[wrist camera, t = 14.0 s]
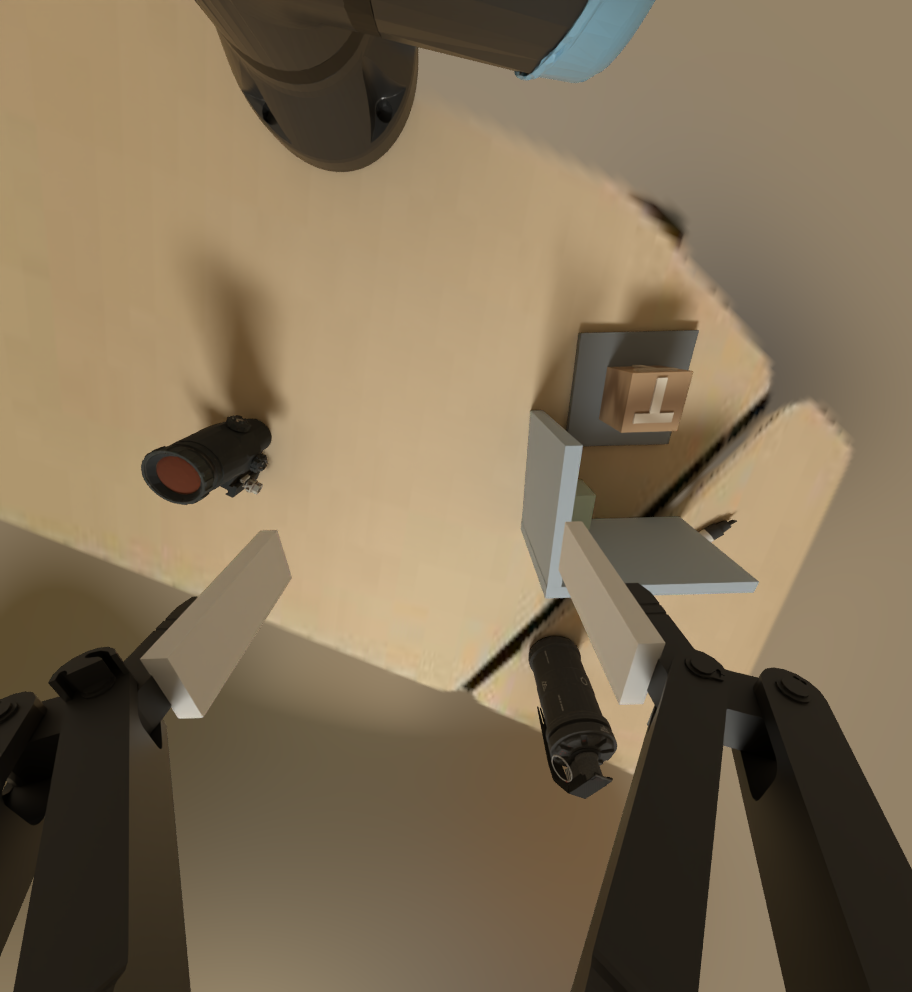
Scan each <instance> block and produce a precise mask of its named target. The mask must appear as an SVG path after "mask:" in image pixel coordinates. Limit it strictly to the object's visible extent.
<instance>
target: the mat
mask: <svg viewBox="0 0 912 992" xmlns="http://www.w3.org/2000/svg"><path fill="white" fill-rule="evenodd" d="M698 332H699V330H686V331H644V332H602V333H579V335H578V343H577V350H576V358H575V366H574V374H573V382H572V390H571V397H570V405H569V413H568V421H567V429H566V431H567V432H568V433H569V434H570V435H571V436H573V437H574V438H575V439H576V440H577V441H578V442H579V443H581V444H582V445H583V446H612V445H651V444H668V443H669V439H670V436H671V432H672V431H659V432H627V433H621V432H619V431H618V430H616V429H614V428H613V427H611V426H609V425H608V424H606V423H604V422H603V421H601V420H599V415H600V409H601V403H602V396H603V390H604V384H605V378H606V372H607V367H626V366H632V365H645V366H658V365H660V366H665V367H671V368H678V369H683V370H688V369H689V365H690V362H691V358H692V354H693V351H694V347H695V343H696V339H697V336H698Z"/></svg>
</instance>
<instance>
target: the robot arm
mask: <svg viewBox="0 0 912 992" xmlns="http://www.w3.org/2000/svg"><path fill="white" fill-rule="evenodd" d="M195 1H196V3H197V4H198V5H199V6H200V8H201V9H202V10H203V11H204V13H205V14H206V15H207V16H208V18H209V19H210V20H211V21H212V23H213V24H214V25H215V27H216V29H217V32H218V35H219V38H220V40H221V43H222V46H223V48H224V51H225V54H226V57H227V59H228V62H229V65H230V67H231V70H232V72H233V74H234V76H235V79H236V81H237V83H238V85H239V87H240V89H241V91H242V92H243V94H244V96H245V98H246V99H247V101H248V103H249V104H250V106H251V107H252V109H253V110H254V112H255V113H256V115H257V116H258V117H259V119H260V120H261V121H262V122H263V124H264V125H265V126H266V127H267V128H268V129H269V130H270V132H271V133H272V134H273V135H274V136H275V137H276V138H277V139H278V140H279V141H280V142H281V144H283V145H284V146H285V147H286V148H287V149H288V150H289V151H290V152H292V153H293V154H294V155H296V156H297V157H298V158H300V159H301V160H303V161H305V162H307V163H308V164H310V165H313V166H315V167H317V168H321V169H324V170H328V171H335V172H348V171H354V170H358V169H361V168H364V167H366V166H368V165H370V164H372V163H373V162H375V161H376V160H378V159H379V158H380V157H382V156H383V155H384V154H385V153H386V152H387V151H388V150H389V149H390V148H391V146H392V145H393V144H394V143H395V141H396V140H397V138H398V137H399V135H400V133H401V131H402V130H403V128H404V126H405V123H406V121H407V119H408V116H409V114H410V111H411V107H412V104H413V100H414V96H415V90H416V84H417V76H418V47H420V48H424V49H428V50H432V51H436V52H440V53H444V54H448V55H452V56H456V57H460V58H464V59H469V60H473V61H477V62H481V63H485V64H489V65H493V66H497V67H501V68H506V69H509V70H513V71H515V75H516V76H517V77H518V78H520V79H522V80H530V79H536V78H538V77H543V78H548V79H553V80H559V81H565V82H571V83H579V82H584V81H586V80H588V79H589V78H590V77H593V76H594V75H595V74H597V73H600V72H602V71H603V70H604V69H605V68H607V67H608V66H609V65H610V63H612V61H613V60H614V59H615V58H616V57H617V56H618V55H619V54H620V53H621V51H622V50H623V49H624V47H625V46H626V45H627V43H628V42H629V41H630V39H631V38H632V37H633V35H634V34H635V32H636V31H637V29H638V28H639V26H640V25H641V23H642V22H643V20H644V18H645V17H646V15H647V14H648V12H649V10H650V9H651V7H652V5H653V4H654V2H655V0H195ZM558 570H559V572H560V574H561V577H562V579H563V581H564V583H565V586H566V588H567V590H568V592H569V594H570V597H571V599H572V601H573V603H574V606H575V608H576V610H577V612H578V614H579V617H580V619H581V621H582V623H583V626H584V628H585V630H586V632H587V634H588V637H589V639H590V641H591V643H592V646H593V648H594V650H595V652H596V654H597V657H598V659H599V661H600V663H601V666H602V668H603V670H604V672H605V674H606V677H607V679H608V681H609V683H610V685H611V688H612V690H613V692H614V694H615V697H616V699H617V701H618V703H619V705H627V704H644V701H645V698H646V695H647V693H649V695H650V697H651V699H652V701H653V702H654V704H655V706H654V708H653V711H652V713H651V716H650V718H649V721H648V724H647V725H648V728H647V732H646V735H645V738H644V742H643V745H642V749H641V752H640V756H639V759H638V762H637V766H636V769H635V773H634V776H633V780H632V783H631V787H630V790H629V793H628V797H627V800H626V804H625V807H624V811H623V814H622V817H621V821H620V824H619V828H618V832H617V835H616V838H615V841H614V845H613V848H612V852H611V856H610V859H609V862H608V866H607V869H606V873H605V876H604V879H603V883H602V886H601V890H600V893H599V897H598V900H597V903H596V907H595V910H594V914H593V917H592V920H591V924H590V927H589V931H588V934H587V938H586V941H585V945H584V948H583V951H582V955H581V958H580V962H579V965H578V969H577V972H576V975H575V979H574V982H573V985H572V989H571V992H698V988H699V978H700V968H701V958H702V949H703V938H704V928H705V918H706V909H707V899H708V889H709V880H710V869H711V860H712V850H713V840H714V830H715V820H716V811H717V801H718V791H719V790H718V789H719V780H720V771H721V761H722V751H723V745H724V746H727V747H731V748H732V753H733V757H734V762H735V766H736V770H737V774H738V779H739V784H740V788H741V793H742V797H743V802H744V806H745V810H746V815H747V820H748V824H749V828H750V833H751V837H752V842H753V846H754V850H755V855H756V860H757V864H758V868H759V873H760V878H761V882H762V887H763V890H764V895H765V899H766V904H767V909H768V913H769V918H770V922H771V927H772V931H773V936H774V940H775V944H776V949H777V953H778V958H779V962H780V967H781V971H782V976H783V980H784V985H785V989H786V992H912V869H911V867H910V865H909V863H908V861H907V859H906V857H905V855H904V853H903V851H902V849H901V847H900V845H899V843H898V841H897V839H896V837H895V835H894V833H893V831H892V829H891V827H890V825H889V823H888V821H887V819H886V817H885V816H884V813H883V811H882V809H881V807H880V805H879V803H878V801H877V799H876V797H875V796H874V793H873V791H872V789H871V788H870V786H869V784H868V782H867V780H866V778H865V776H864V774H863V772H862V770H861V768H860V766H859V764H858V762H857V760H856V758H855V756H854V754H853V752H852V750H851V748H850V746H849V744H848V742H847V740H846V738H845V736H844V734H843V732H842V730H841V728H840V726H839V724H838V722H837V720H836V718H835V716H834V715H833V712H832V710H831V708H830V706H829V704H828V702H827V700H826V699H825V698H824V696H823V695H822V694H821V692H820V691H819V690H818V689H817V688H816V687H814V686H813V685H812V684H811V683H810V682H808V681H807V680H805V679H803V678H802V677H800V676H799V675H797V674H794V673H792V672H789V671H787V670H784V669H779V668H767V669H765V670H764V671H763V672H762V673H761V674H760V676H759V678H757V677H753V676H749V675H745V674H741V673H736V672H732V671H729V670H726V669H724V667H723V666H722V665H721V664H720V663H719V662H717V661H716V660H715V659H714V658H712V657H711V656H709V655H707V654H705V653H704V652H701V651H698V650H695V649H694V648H693V647H692V645H691V644H690V643H689V641H688V640H687V639H686V638H685V636H684V635H683V634H682V632H681V631H680V630H679V628H678V627H677V626H676V624H675V623H674V622H673V620H672V619H671V618H670V617H669V615H667V614H666V611H665V610H664V609H663V607H662V606H661V605H659V602H658V601H657V600H656V598H655V597H654V596H653V594H652V593H651V592H650V591H649V590H647V589H646V588H645V587H643V586H642V585H641V584H639V583H624V582H623V580H622V579H621V577H620V576H619V575H618V573H617V572H616V570H615V569H614V567H613V566H612V564H611V563H610V561H609V560H608V559H607V557H606V556H605V554H604V553H603V551H602V550H601V548H600V547H599V545H598V544H597V542H596V541H595V540H594V538H593V537H592V535H591V534H590V532H589V531H588V529H587V528H586V526H585V525H584V524H583V522H582V521H574V522H565V527H564V534H563V541H562V548H561V555H560V562H559V569H558ZM291 578H292V576H291V573H290V570H289V566H288V563H287V560H286V557H285V553H284V550H283V547H282V544H281V540H280V537H279V534H278V531H277V530H264V531H260V532H259V533H258V534H257V535H256V536H255V537H254V538H253V539H252V540H251V541H250V542H249V543H248V544H247V545H246V547H245V548H244V549H243V550H242V551H241V552H240V553H239V554H238V555H237V556H236V557H235V558H234V559H233V560H232V561H231V562H230V564H229V565H228V566H227V567H226V568H225V569H224V570H223V571H222V572H221V573H220V574H219V575H218V576H217V577H216V578H215V580H214V581H213V582H212V583H211V584H210V585H209V586H208V587H207V588H206V589H205V590H204V591H203V592H202V593H201V594H200V595H199V597H191V598H190V599H189V600H187V601H185V602H184V603H183V604H181V605H180V606H178V607H177V608H176V609H175V610H174V611H173V612H172V613H171V614H170V615H169V616H168V617H167V618H166V620H165V621H163V622H162V623H161V624H160V625H159V626H158V627H157V628H156V631H153V632H152V633H151V634H150V635H149V636H148V637H147V638H146V639H145V640H144V641H143V642H142V643H141V645H139V646H138V647H137V649H136V650H135V651H134V652H133V653H132V654H131V655H130V656H129V657H128V658H127V659H126V660H125V661H124V662H123V661H122V659H121V658H120V656H119V655H118V653H117V652H116V650H115V649H113V648H110V647H103V648H97V649H93V650H90V651H87V652H85V653H83V654H81V655H79V656H77V657H75V658H73V659H71V660H70V661H69V662H67V663H66V664H64V665H63V666H61V667H60V668H59V669H58V670H57V671H56V672H55V673H54V674H53V675H52V677H51V679H50V681H49V684H50V686H51V687H52V688H53V689H54V690H55V691H56V692H57V693H58V695H59V696H60V697H56V698H53V699H49V700H46V701H42V702H41V701H40V700H39V698H38V697H37V696H36V695H35V694H34V693H33V692H21V693H16V694H13V695H10V696H8V697H5V698H3V699H0V955H1V953H2V951H3V948H4V946H5V944H6V941H7V939H8V936H9V934H10V932H11V929H12V927H13V925H14V922H15V920H16V917H17V915H18V913H19V910H20V908H21V906H22V903H23V901H24V899H25V896H26V893H27V891H28V889H29V886H30V884H31V882H32V879H33V877H34V880H33V885H32V891H31V897H30V902H29V908H28V914H27V919H26V924H25V930H24V936H23V941H22V946H21V952H20V958H19V963H18V969H17V974H16V980H15V986H14V991H13V992H191V989H190V979H189V967H188V957H187V947H186V946H187V945H186V934H185V923H184V913H183V901H182V891H181V880H180V868H179V859H178V846H177V835H176V824H175V813H174V802H173V792H172V781H171V770H170V758H169V747H168V737H167V726H166V724H165V721H164V720H163V717H164V716H165V714H166V713H167V712H168V710H169V709H170V708H171V707H172V709H173V710H174V712H175V714H176V715H177V717H178V718H203V717H204V715H205V714H206V712H207V711H208V709H209V708H210V706H211V704H212V703H213V701H214V700H215V698H216V697H217V695H218V693H219V692H220V690H221V689H222V687H223V686H224V684H225V682H226V681H227V679H228V678H229V676H230V675H231V673H232V671H233V670H234V668H235V667H236V665H237V664H238V662H239V660H240V659H241V657H242V656H243V654H244V652H245V651H246V649H247V648H248V646H249V645H250V643H251V641H252V640H253V638H254V637H255V635H256V634H257V632H258V630H259V629H260V627H261V626H262V624H263V623H264V621H265V619H266V618H267V616H268V615H269V613H270V612H271V610H272V608H273V607H274V605H275V604H276V602H277V601H278V599H279V597H280V596H281V594H282V593H283V591H284V589H285V588H286V586H287V585H288V583H289V582H290V580H291ZM6 781H7V784H6V786H5V787H4V785H5V782H6ZM3 787H4V789H3ZM2 790H3V791H2Z"/></svg>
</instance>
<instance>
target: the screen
mask: <svg viewBox="0 0 912 992" xmlns="http://www.w3.org/2000/svg"><path fill="white" fill-rule="evenodd" d="M582 448H583V445H582V444H581V443H579V442H578V441H577V440H576V439H575V438H574V437H573V436H571V435H570V434H569V433H568V432H567V431H566V430H565V429H563V428H562V427H561V426H560V425H559V424H558V423H557V422H555V421H554V420H553V419H552V418H551V417H550V416H549V415H547V414H546V413H545V412H544V411H543V410H533V411H530V424H529V437H528V450H527V462H526V475H525V488H524V501H523V514H522V523H521V531H522V534H523V537H524V539H525V542H526V545H527V548H528V551H529V554H530V556H531V559H532V562H533V565H534V568H535V570H536V573H537V576H538V579H539V582H540V585H541V587H542V590H543V593H544V596H545V598H571V597H570V594H569V592H568V590H567V588H566V586H565V583H564V581H563V579H562V577H561V574H560V572H559V570H558V569H559V562H560V555H561V548H562V541H563V534H564V527H565V522H571V520H572V514H573V507H574V501H575V494H576V488H577V481H578V474H579V468H580V461H581V455H582ZM588 531H589V532H590V534H591V535H592V537H593V538H594V540H595V541H596V542H597V544H598V545H599V547H600V548H601V550H602V551H603V553H604V554H605V556H606V557H607V559H608V560H609V561H610V563H611V564H612V566H613V567H614V569H615V570H616V572H617V573H618V575H619V576H620V577H621V579H622V580H623V582H624V583H639V584H641V585H642V586H643V587H645V588H646V589H647V590H649V591H650V592H651V593H652V594H653V595H682V594H718V593H754V591H755V589H756V587H757V585H758V583H759V581H757V580H756V579H755V578H754V577H753V576H751V575H750V574H749V573H748V572H746V571H745V570H744V569H743V568H742V567H740V566H739V565H738V564H737V563H735V562H734V561H733V560H732V559H731V558H729V557H728V556H727V555H726V554H724V553H723V552H722V551H721V550H719V549H718V548H717V547H716V546H715V545H713V544H712V543H711V542H710V541H708V540H707V539H706V538H705V537H704V536H702V535H701V534H700V533H699V532H697V531H696V530H695V529H694V528H693V527H691V526H690V525H689V524H688V523H686V522H685V521H684V520H683V519H682V518H680V517H641V518H604V519H591V525H590V530H588Z"/></svg>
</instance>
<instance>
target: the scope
mask: <svg viewBox="0 0 912 992" xmlns="http://www.w3.org/2000/svg"><path fill="white" fill-rule="evenodd" d="M270 443H271V433H270V431H269V429H268V428H267V426H266V425H265V424H263V423H262V422H261V421H258V420H256V419H246V418H245V419H244V418H243V417H242V416H238V415H236V416H230V417H227V420H226V422H223V423H219V424H215V425H212V426H209V427H207V428H204V429H202V430H200V431H199V432H197V433H194V434H192V435H190V436H188V437H186V438H184V439H181V440H179V441H177V442H175V443H173V444H172V445H170V446H167V447H165V446H163V447H160V448H158V449H155V450H153V451H152V452H150V453H148V454H147V455H146V456H145V458H144V460H143V461H142V465H141V471H142V475H143V478H144V480H145V482H146V483H147V485H148V486H149V487H150V489H151V490H153V491H154V492H155V493H156V494H157V495H158V496H160V497H162V498H163V499H165V500H167V501H170V502H172V503H177V504H182V505H187V504H194V503H196V502H198V501H200V500H202V499H203V498H204V497H206V496H207V495H208V494H209V492H210V491H212V490H214V489H216V488H217V487H219V486H221V487H223V488H225V489H227V490H228V493H226V495H228V496H230V497H234V496H236V495H237V494H238V493H240V492H241V491H242V490H243V489H245V488H246V491H247V492H249V493H251V492H252V493H254V494H258V493H259V492H260V490H261V489H262V487H263V484H261V483H259V482H258V480H256V479H257V478H258V475H259V473H260V471H263V470H264V469H265V468H266V466H267V465H266V464H265V463H267V464H268V462H267V457H266V455H263V454H261V452H262V451H263V450H264V449H266V448H267V447H268V446H269V445H270Z"/></svg>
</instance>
